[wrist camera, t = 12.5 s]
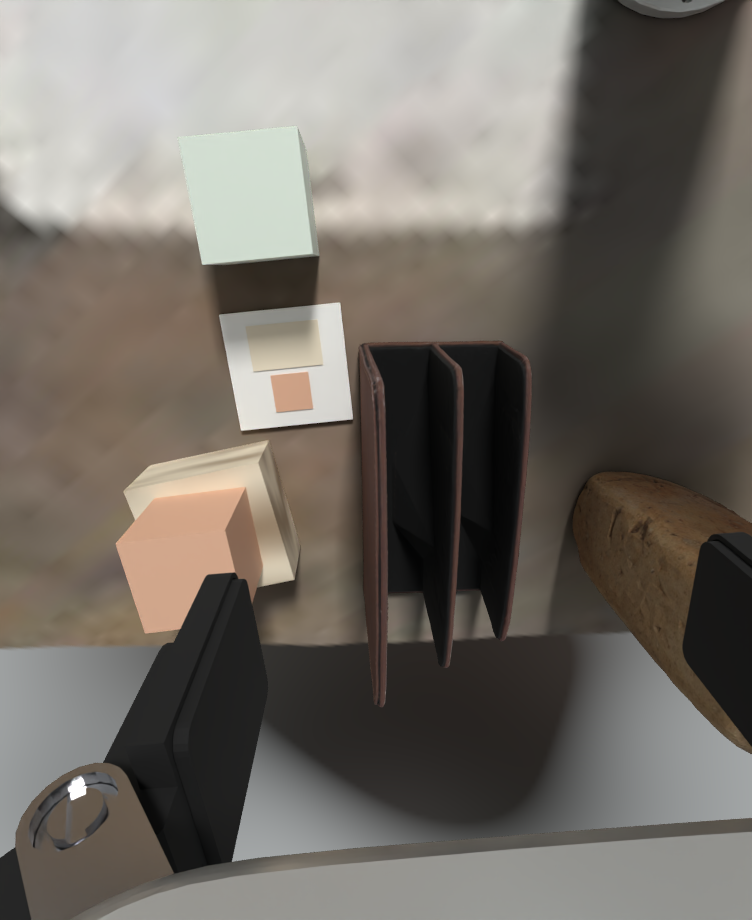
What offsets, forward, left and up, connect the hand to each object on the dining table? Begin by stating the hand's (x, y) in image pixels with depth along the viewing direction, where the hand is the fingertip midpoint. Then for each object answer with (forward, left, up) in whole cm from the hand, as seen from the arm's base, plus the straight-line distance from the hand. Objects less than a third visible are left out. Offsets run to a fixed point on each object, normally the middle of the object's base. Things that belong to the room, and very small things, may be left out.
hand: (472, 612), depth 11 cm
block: (+13, +18, -28) cm, 36 cm away
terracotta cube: (+9, -13, -23) cm, 28 cm away
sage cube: (-11, -7, -28) cm, 30 cm away
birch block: (+9, -13, -28) cm, 32 cm away
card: (-1, -7, -28) cm, 28 cm away
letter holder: (+8, +2, -28) cm, 29 cm away
